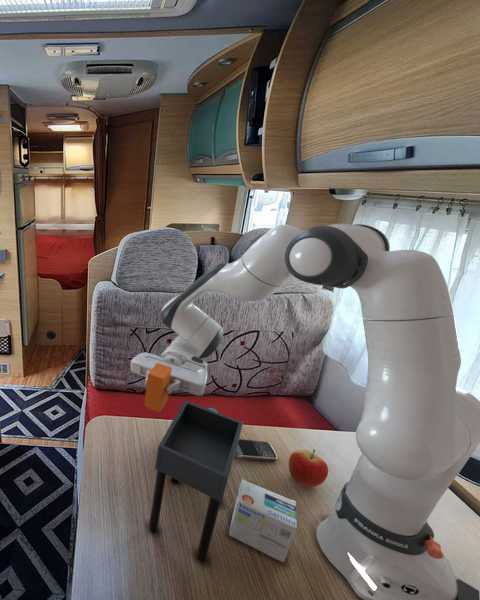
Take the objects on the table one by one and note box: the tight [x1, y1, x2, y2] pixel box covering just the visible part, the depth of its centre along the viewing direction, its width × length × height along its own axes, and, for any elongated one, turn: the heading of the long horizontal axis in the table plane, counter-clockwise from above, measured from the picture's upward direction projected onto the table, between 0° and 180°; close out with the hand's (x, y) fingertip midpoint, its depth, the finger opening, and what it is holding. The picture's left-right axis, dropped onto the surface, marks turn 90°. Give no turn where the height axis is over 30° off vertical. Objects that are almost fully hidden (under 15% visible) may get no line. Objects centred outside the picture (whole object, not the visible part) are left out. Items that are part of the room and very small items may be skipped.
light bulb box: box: [228, 478, 298, 564], centre depth 69 cm, size 11×7×11 cm, turn 59°
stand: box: [148, 470, 227, 563], centre depth 72 cm, size 12×16×18 cm
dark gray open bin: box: [154, 400, 244, 503], centre depth 67 cm, size 13×17×6 cm
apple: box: [288, 448, 329, 488], centre depth 82 cm, size 8×8×10 cm
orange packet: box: [144, 363, 172, 413], centre depth 83 cm, size 4×6×10 cm, turn 146°
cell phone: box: [235, 438, 278, 462], centre depth 92 cm, size 6×11×1 cm, turn 84°
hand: (157, 387), depth 82 cm, fingers closed on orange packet, 4 cm apart
